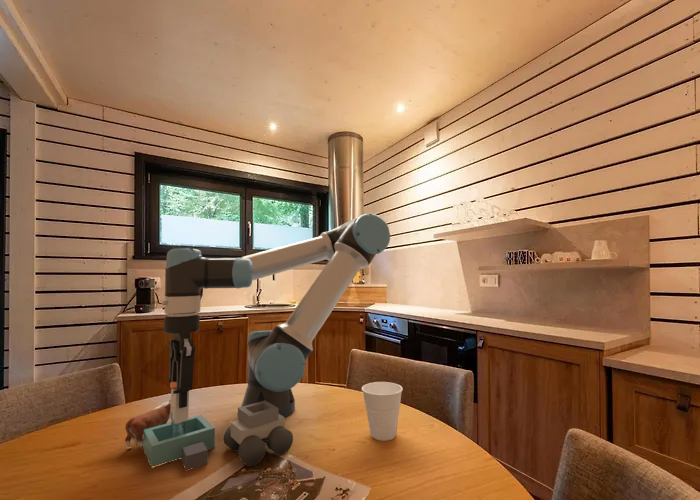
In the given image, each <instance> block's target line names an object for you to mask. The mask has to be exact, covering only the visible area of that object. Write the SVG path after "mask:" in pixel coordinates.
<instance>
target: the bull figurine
mask: <svg viewBox="0 0 700 500" xmlns="http://www.w3.org/2000/svg"><path fill="white" fill-rule="evenodd" d="M170 411H171V399H169V401H165V402H162V403H161V404H159V406H158V405H157V406H156V407H154V408H153V409H151V410H150V411H148V412H144V413H141V414H139V415H136V416H134V417H131V418H130V419H129V420H128V421H127V422H126V424H125V426H124V427H125V431H126V437H125V438H124V441H125V445H126V446H125V448H126V447H130V446H132V445H131V440H132V443H133V445H134V446H138V444H140V447H141V446H143V430H144V429H148V428H152V427H156V426H159V425H163V424H167V423H168V422H169V419H171V418H170Z"/></svg>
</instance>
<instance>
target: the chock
mask: <svg viewBox="0 0 700 500" xmlns="http://www.w3.org/2000/svg"><path fill="white" fill-rule="evenodd" d="M208 451H209V450H207V448H206V446H205V444H204V443H203V442H200V443H197V444H193V445H189V446H186V447H183V449H182V459H181V462H182V461H183V462H182V465H183V464H184V465H183V467H184V466H185V468H184V469H186V470H188V469H191V468H194V469H197V468H199V467H204V466H206V465H208V455H209V454H208V453H209V452H208ZM196 467H197V468H196ZM186 470H185V471H186ZM191 470H192V469H191ZM188 471H189V470H188Z"/></svg>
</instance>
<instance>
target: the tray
mask: <svg viewBox="0 0 700 500" xmlns="http://www.w3.org/2000/svg"><path fill="white" fill-rule="evenodd" d="M215 432H216V428H215V426H213V424H212V423H210V422H209V421H208V419H206V418H205V417H204V416H203V415H202V414H198V415H195V416H194V415H193V416H190V417H188V421H186V434H183V435H180V436H176V437H173V438H171V422H167V424H163V425H159V426H156V427H152V428H148V429H144V430H143V448H144V451H145V453H146V455H147V458H148V460H149V462H150V464H151V467H152V466H156V465H159V464H162V463H165V462H169V461H172V460H175V459H179V458H182V449H183V447H186V446H189V445H193V444H197V443H200V442H203V443H204V444H205V446H206V448H207V450H208V451H209V450H211V449H215V448H216V447H215V443H216V442H215V440H216V433H215ZM143 448H142V449H143ZM144 451H143V452H144ZM145 453H144V454H145ZM147 458H146V459H147ZM148 460H147V461H148ZM179 460H180V459H179ZM149 462H148V463H149ZM150 464H149V465H150ZM151 467H150V468H151Z"/></svg>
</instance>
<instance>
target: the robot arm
mask: <svg viewBox="0 0 700 500" xmlns="http://www.w3.org/2000/svg"><path fill="white" fill-rule="evenodd" d="M390 240H391V233H390V227H389V226H388V224H387V222H386V220H384V219H383V217H381V216H379V215H378V214H374V213H365V214H364V213H363V214H360V215H357V217H355V218H353V219H351V220H349V221H346V222H343V224H340V225H339V226H337V227H335V228H333V229H331V230H327V231H323V232H321V233H320V235H319V236H318V237H313V238H310V239H305V240H301V241H298V242H294V243H290V244H286V245H282V246H278V247H275V248H271V249H267V250H263V251H259V252H256V253H252V254H247V255H245V256H241V257H214V258H213V257H204V256H203V255H202V251H201V250H200V249H196V248H172V249H170V250H168V252H167V253H166V261H165V262H166V263H165V268H164V269H165V271H164V272H165V273H164V274H165V276H164V277H165V278H164V280H165V281H164V300H163V301H161V305H162V306H164V314H165V317H163V333H165V334H168V335H169V334H170V335H171V334H172V340H169V341H168V345H169V347H168V348H169V355H168V359H169V364H168V365H169V366H168V373H169V374H168V382H169V384H170V383H171V382H172V381H175V380H177V390H176V391H173V394H175V410H174V423H175V424H176V423H180V422H184V421H188V418H189V406H190V405H189V403H190V401H189V400H190V399H189V398H190V391H192V390H193V383H194V381H193V378H194V363H195V361H194V359H195V352H196V346H195V345H194V340H193V339H192V338H191V337H192V335H191V334H192V333H193V332H198V331H199V330H200V327H201V326H200V324H201V323H200V321H201V320H200V319H201V316H200V314H198V313H200V312H201V297H202V295H201V290H202V289H205V290H206V289H242V288H249V287H251V286H252V283H253V281H255V280H258V279H259V280H260V279H262V278H267V277H269V276H273V275H276V274H280V273H283V272H287V271H290V270H293V269H296V268H302V267H304V266H307V265H310V264H313V263H314V264H315V263H317V262H318V263H319V262H321V261H325V260H327V261H328V262H327V263H326V264H325V266H324V268H323V269H322V270H321V271H320V273H319V275H318V276H317V277H316V278H315V280H314V281H313V283H312V285H310V287H309V289H308V290H307V291H306V293H305V294H304V296H303V297H302V298H301V300H300V301H299V302H298V304H297V305H296V307H295V309H294V310H293V311H292V313H291V314H290V316H289V317H288V318H287V320H286V321H285V322H283V323H279V324H276V325H275V326H274V328H273V329H271V330H270V329H269V330H258V331H256V330H255V331H251V332H250V333H249V334H248V336H247V337H248V338H247V342H246V343H247V347H248V348H247V387H246V390H245V393H244V396H243V399H242V403H241V405H240V407H243V406H246V405H250V404H254V403H258V402H261V401H267V402H269V403H270V404H272V405H274V406H276V407H277V408H278V414H280V415H282V416H283V417H285V418H286V417H289V416H290V415H292V414H293V413H294V411H296V399H295V397H294V394H293V391H292V388H294V387H295V386H296V385H298V383H300V381H301V380H302V378H303V376H304V374H305V370H306V362H307V360H308V359H309V356H310V355H311V354H312V352H313V351H314V348H313V341H314V339H315V337H316V336H317V334H318V333H319V331H320V330H321V328H322V327H323V326H324V324H325V322H326V321H327V319H328V318H329V316H330V315H331V314H332V311H333V310H334V309H335V307H336V305H337V304H338V302H340V300H341V298H342V297H343V295H344V294H345V292H346V291H347V289H348V288H349V286H350V285H351V283H352V282H353V281H354V279H355V277H356V276H357V274H358V272H359V271H360V270H362V269H367V268H368V267H369V265H370V264H371V263H372V261H373V259H374V258H375V257H376V255H378V254H381V253H382V252H384V251H385V250H386V249H387V247H389V244H390V242H391V241H390ZM170 389H171V390H170V400H171V411H170V418H169V419H171V412H172V388H170Z"/></svg>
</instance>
